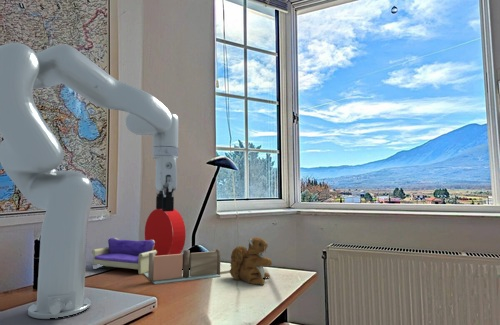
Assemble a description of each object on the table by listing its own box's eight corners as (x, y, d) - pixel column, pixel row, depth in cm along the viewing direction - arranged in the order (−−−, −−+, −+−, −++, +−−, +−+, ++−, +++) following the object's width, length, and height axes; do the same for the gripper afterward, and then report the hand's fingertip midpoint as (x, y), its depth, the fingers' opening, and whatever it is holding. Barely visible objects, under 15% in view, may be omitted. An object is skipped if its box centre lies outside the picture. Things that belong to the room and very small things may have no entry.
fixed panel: (221, 274, 115) (221, 248, 116) (183, 279, 109) (184, 251, 109) (218, 273, 117) (219, 247, 117) (181, 277, 110) (182, 250, 111)
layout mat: (220, 276, 113) (220, 275, 113) (154, 284, 102) (154, 283, 102) (203, 267, 125) (203, 266, 125) (143, 274, 114) (143, 272, 114)
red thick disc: (184, 262, 134) (186, 209, 136) (171, 264, 130) (173, 209, 131) (156, 254, 148) (157, 207, 149) (143, 256, 143) (145, 207, 145)
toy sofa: (90, 269, 120) (91, 239, 121) (108, 264, 128) (109, 236, 129) (141, 275, 113) (142, 243, 114) (157, 270, 121) (158, 240, 122)
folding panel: (182, 277, 109) (183, 251, 109) (148, 281, 104) (149, 253, 104) (180, 276, 110) (181, 250, 111) (147, 280, 105) (148, 252, 106)
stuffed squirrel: (265, 286, 103) (265, 240, 104) (221, 281, 108) (222, 237, 109) (275, 278, 112) (275, 236, 113) (234, 273, 117) (235, 233, 118)
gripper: (184, 151, 101) (183, 211, 100) (171, 156, 117) (170, 207, 116) (158, 150, 98) (156, 212, 97) (148, 155, 113) (147, 208, 112)
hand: (164, 210), depth 106 cm, fingers open, 9 cm apart
